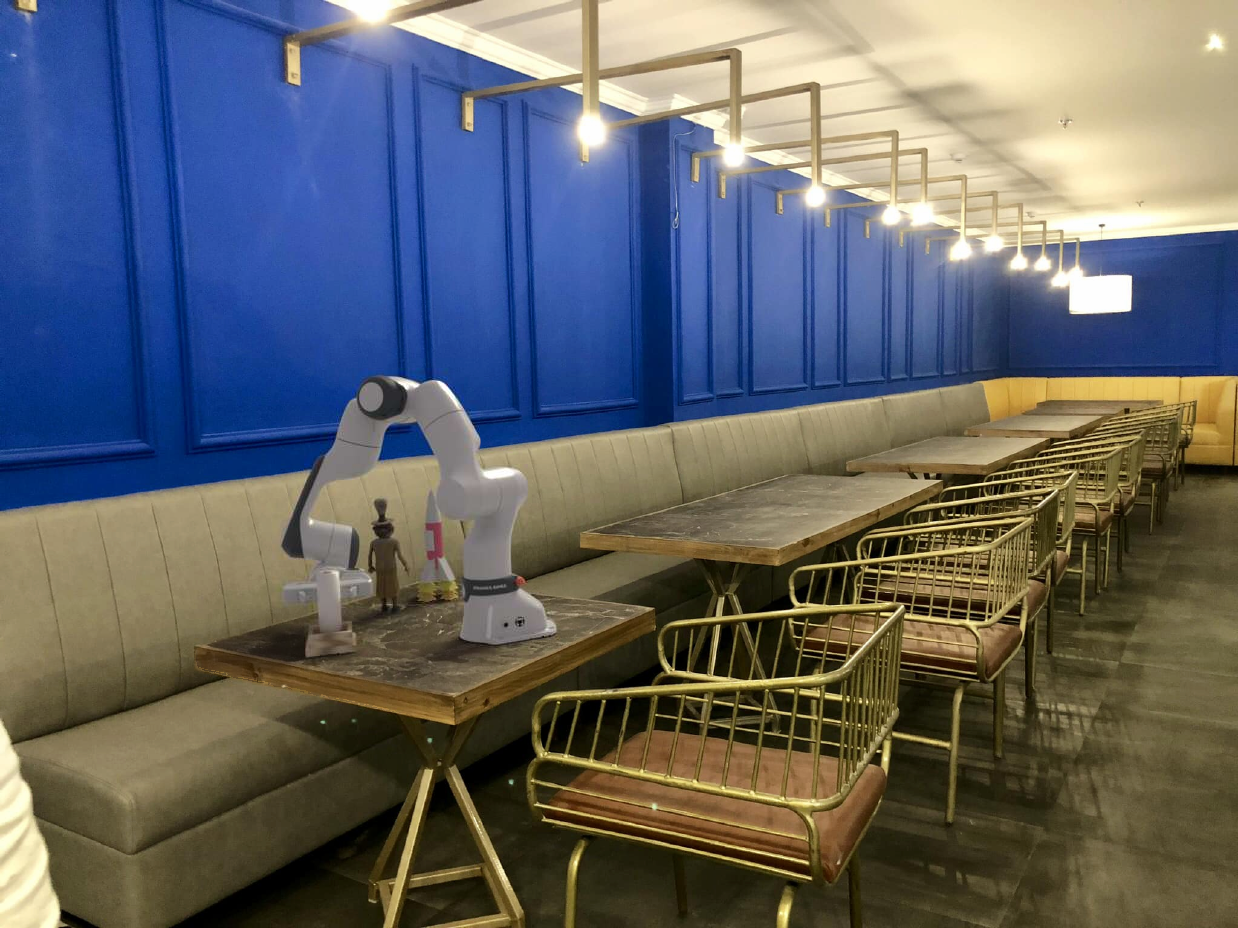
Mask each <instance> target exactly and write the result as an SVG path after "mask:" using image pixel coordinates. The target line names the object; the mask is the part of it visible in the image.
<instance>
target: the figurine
mask: <svg viewBox="0 0 1238 928" xmlns="http://www.w3.org/2000/svg"><path fill="white" fill-rule="evenodd" d="M373 505H374V508H375V510H376V513H377V515H378V519H375V520H372V521H371V522H370V525H371V526H372V531H373V532H374V534H375V536H376V537H378V538H375V539H374V540H372V541H370V545H369V551H368V556H367V562H368V563H367V567H368V569H367V572H368V573H369V575H370V574H373V573H374V572H375V577H376V582H375V583H376V585H375V586H376V587H375V597H376V599H380V601H381V609H380V614H387V613H389V612H390V611H391V612H390V613H391V614H399V613H400V612H402V611H403V610H405V609H407V605H406V604H398V597H399V596H400V595H401V588H400V583H399V577H398V567H397V565H398V564H397V559H396V555H397V558H398V560H399V561H400V563H401V565H402V567H404V572H406V575H407V577H408V578H410V575H409V574H410V571H411V570H410V569H411V567H410V566H409V565H408V562H407V561H406V559H405V558H404V556H403V553H402V551H401V545H400V542H399V540H398V539H397V538H395V537H392V535H393V534H394V533H395V526H394V525H393V522H394V518H391V517H386V511H387V508H388V500H387V499H386V498H382V497H377V498H375V499H374V501H373ZM373 554H374V557H375V562H374V563H375V564H373ZM373 565H374V566H373ZM387 599H391V601H392V604H389V605H387ZM401 610H402V611H401Z"/></svg>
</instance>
